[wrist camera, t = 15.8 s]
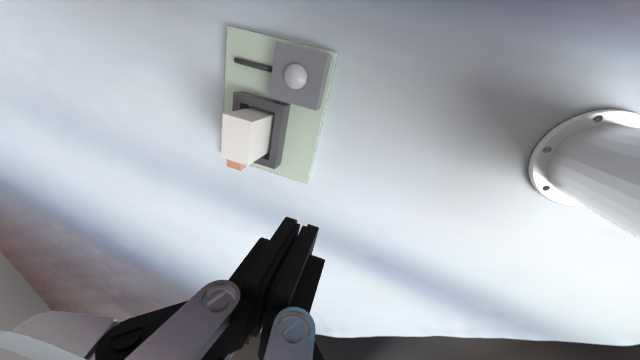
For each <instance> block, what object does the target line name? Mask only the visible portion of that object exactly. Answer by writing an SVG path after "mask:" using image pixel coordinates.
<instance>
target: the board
mask: <svg viewBox="0 0 640 360" xmlns="http://www.w3.org/2000/svg"><path fill="white" fill-rule="evenodd" d="M337 57H338V53H336V52H332V51H328V50H324V49H320V48H316V47H312V46H308V45H304V44H300V43H296V42H292V41H287V40H283V39H279V38H275V37H271V36H267V35H263V34H259V33H255V32H251V31H246V30H242V29H238V28H234V27H230V26H227V40H226V65H225V89H224V113H227V112H232V111H237V110H241V109H246V108H251V107H256V108H259V109H262V110H266V111H269V112H273V113H275V119H274V126H273V133H272V140H271V148H270V152H268V153H267V154H265V155H264V156H262V157H261V158H259V159H257V160H256V161H254V162H253V163H251V164H250V165H249V166H252V167H255V168H258V169H261V170H265V171H268V172H271V173H274V174H277V175H280V176H284V177H287V178H290V179H293V180H296V181H299V182H303V183H306V184H307V183H308V181H309V178H310V174H311V170H312V165H313V161H314V157H315V152H316V148H317V144H318V139H319V135H320V131H321V126H322V122H323V118H324V113H325V109H326V105H327V100H328V96H329V91H330V87H331V83H332V78H333V74H334V70H335V65H336V61H337Z"/></svg>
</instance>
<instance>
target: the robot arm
mask: <svg viewBox="0 0 640 360" xmlns="http://www.w3.org/2000/svg"><path fill="white" fill-rule="evenodd" d="M529 177H530V181H531V183H532V184H533V186H534V188H535V189H536V190H537V191H538V192H539V193H540V194H542V195H543V196H545V197H546V198H548V199H550V200H552V201H554V202H556V203H560V204H563V205H570V206H585V207H587V208H588V209H590V210H592V211H593V212H595V213H597V214H598V215H600V216H602V217H603V218H605V219H606V220H608V221H610V222H611V223H613V224H615V225H616V226H618V227H620V228H621V229H623V230H625V231H626V232H628V233H630V234H631V235H633V236H635V237H636V238H638V239H639V240H640V114H638V113H635V112H631V111H624V110H612V109H606V110H596V111H592V112H588V113H584V114H581V115H578V116H576V117H573V118H571V119H569V120H567V121H565V122H563V123H561V124H560V125H558V126H557V127H555V128H554V129H553V130H551V131H550V132H549V133H548V134H547V135H546V136H545V137H544V138H543V139H542V140H541V141H540V142H539V144H538V145H537V146H536V148H535V149H534V151H533V153H532V155H531V158H530V162H529ZM299 228H300V224H297V220H295V219H292V218H289V217H285V219H284V220H283V222H282V223H281V225H280V226H279V228H278V229H277V231H276V232H275V233H274V235H273V236H272V238H271V239H270V240H268V239H265V238H260V239H259V240H258V242H257V243H256V244H255V246H254V247H253V248H252V249H251V251H250V252H249V253H248V255H247V256H246V257H245V259H244V260H243V261H242V263H241V264H240V265H239V267H238V268H237V269H236V271H235V272H234V273H233V275H232V276H231V277H230V279H229V280H217V281H213V282H211V283H208V284H207V285H206V286H204V287H203V288H202V289H201V290H200V291H198V292H197V293H196V294H195V295H194V296H193V297H192V298H191V299H190V300H189V301H185V302H182V303H179V304H176V305H172V306H169V307H166V308H163V309H159V310H156V311H153V312H150V313H146V314H143V315H140V316H136V317H133V318H130V319H127V320H125V321H123V322H118V321H116V318H110V317H102V316H94V315H86V314H77V313H69V312H61V311H49V312H45V313H41V314H38V315H35V316H33V317H31V318H29V319H27V320H25V321H24V322H23V323H21V324H20V325H18V326H17V327H15V328H14V329H13V330H12V331H11V332H6V331H0V360H229V359H230V358H231V356H232V354H233V352H235V351H237V350H239V349H241V348H242V347H243V345H244V343H245V344H249V343H250V341H251V339H252V337H256V338H257V337H258V335H259V333H260V331H261V329H262V333H261V338H260V339H261V341H260V346H259V351H258V356H259V360H324V359H323V357H322V355H321V353H320V351H319V349H318V347H317V345H316V343H315V341H314V339H315V324H314V321H313V318H312V317H311V316H310V314H309V313H310V310H311V306H312V303H313V300H314V296H315V293H316V289H317V286H318V283H319V279H320V276H321V273H322V269H323V266H324V262H325V260H324V259H322V258H319V257H316V256H313V255H312V251H313V248H314V244H315V240H316V237H317V233H318V230H319V227H316V226H313V225H310V224H308V225H307V227H306V226H303V227H302V228H301V230H300V232H299ZM298 232H299V234H298ZM262 326H263V327H262Z"/></svg>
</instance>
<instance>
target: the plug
mask: <svg viewBox="0 0 640 360" xmlns="http://www.w3.org/2000/svg"><path fill="white" fill-rule="evenodd" d="M274 119H275V113H273V112H269V111H266V110H262V109H259V108H256V107H251V108H246V109H241V110H237V111H232V112H227V113H223V117H222V139H221V158H224V159H227V166H228V167H231V168H234V169H237V170H242V169H243V168H245V167H246V166H248V165H250V164H251V163H253V162H254V161H256V160H257V159H259V158H261V157H262V156H264V155H265V154H267V153H268V152H270V148H271V140H272V133H273V126H274Z"/></svg>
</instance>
